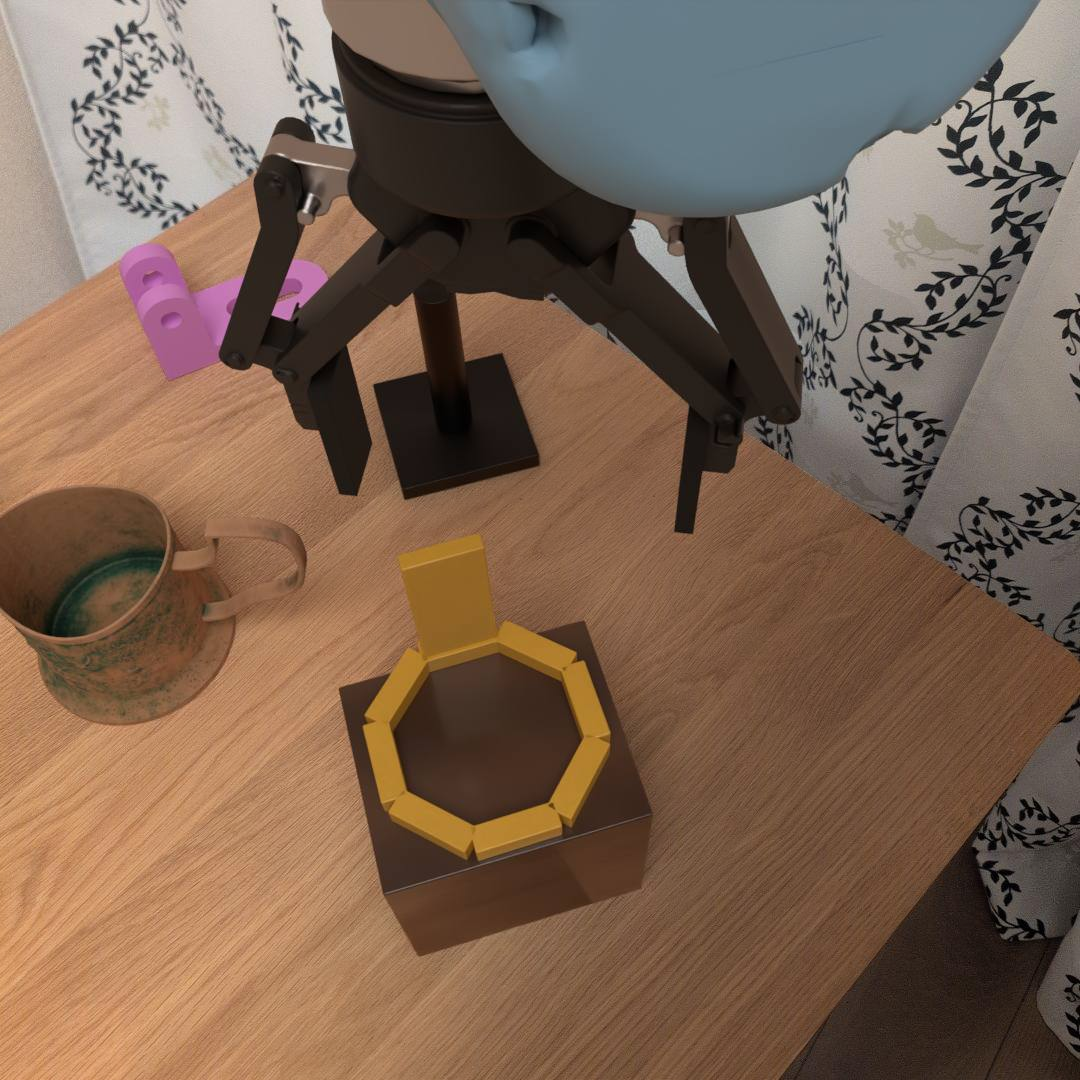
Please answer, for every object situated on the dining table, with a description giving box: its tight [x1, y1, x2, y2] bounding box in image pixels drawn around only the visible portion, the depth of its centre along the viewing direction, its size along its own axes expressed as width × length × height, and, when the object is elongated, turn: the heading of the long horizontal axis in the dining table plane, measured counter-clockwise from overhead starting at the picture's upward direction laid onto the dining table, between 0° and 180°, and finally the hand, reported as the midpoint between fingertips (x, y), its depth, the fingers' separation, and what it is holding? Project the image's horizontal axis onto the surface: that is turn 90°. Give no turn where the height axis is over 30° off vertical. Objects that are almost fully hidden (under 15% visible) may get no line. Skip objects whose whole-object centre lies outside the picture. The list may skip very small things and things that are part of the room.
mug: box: [0, 483, 308, 727], centre depth 64 cm, size 12×18×12 cm, turn 90°
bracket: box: [118, 243, 329, 382], centre depth 79 cm, size 13×6×7 cm, turn 117°
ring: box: [363, 532, 611, 861], centre depth 48 cm, size 10×10×9 cm
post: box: [372, 278, 540, 501], centre depth 70 cm, size 9×9×13 cm
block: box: [338, 619, 654, 957], centre depth 57 cm, size 10×12×12 cm
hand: (518, 487), depth 47 cm, fingers open, 13 cm apart
